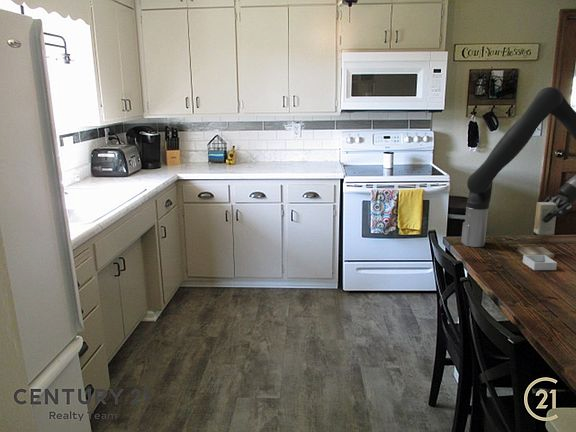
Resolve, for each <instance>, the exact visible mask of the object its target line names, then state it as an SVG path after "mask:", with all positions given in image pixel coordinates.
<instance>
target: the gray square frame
mask: <svg viewBox="0 0 576 432" xmlns="http://www.w3.org/2000/svg"><path fill="white" fill-rule="evenodd" d="M522 263H523V264H524V265H526V266H527V267H529V268H530V269H532V270H533V271H556V270H557V267H558V262H557V261H555V260H553V258H549V257H547V256H546V255H523V254H522Z"/></svg>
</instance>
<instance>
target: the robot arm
mask: <svg viewBox="0 0 576 432" xmlns="http://www.w3.org/2000/svg"><path fill="white" fill-rule="evenodd" d="M549 115H552V116H553V117H555V118H556V119H557V120H558V121H559V122H560V123H561V124H562V125H563V127H564V128H565V129H566V130H567V131H568V133H569V134H570V135H571V136H572V138H573V139H574V140H575V141H576V111H575V109H574V108H573V107H572V106H571V105H570V103H569V102H568V101H567V99H566V97H565V96H564V94H563V93H562V91H561V90H560V89H559V88H557V87H553V86H547V87H544V88H542V89H541V90H540V91H538V93H537V94H536V95H535V97H534V99H533V100H532V101H531V104H529V106H528V107H527V109H526V110H525V112H523V114H522V115H521V117H519V118H518V119H517V120H516V122H514V123H513V124H512V126H511V127H510V128H509V129H508V130H507V131H506V132H505V133H504V135H503V136H502V137H501V138H500V140H499V141H498V142H497V143H496V145H495V146H494V147H493V149H492V150H491V152H490V153H489V155H488V156H487V158H486V160H485V161H483V163H482V164H481V165H480V166H479V167H478V168H477V169H476V170H475V171H474V172H473V173H472V174H470V176H469V177H468V179H467V182H466V185H467V188H468V191H469V194H468V197H467V200H466V207H465V216H464V218H465V219H464V221H463V222H462V230H461V239H460V242H461V243H462V244H463V245H464V246H465V247H472V248H481V247H484V246H485V243H486V233H487V224H488V217H489V207H490V203H491V199H492V198H491V197H492V192H493V191H492V190H493V184H494V183H493V181H494V179H495V178H496V177H497V175H498V174H499V173H500V171H501V170H503V169H504V168H505V167H506V166H507V165H509V163H511V162H512V161H513V160H514V159H515V158H516V157H517V156H518V155H519V153H520V152H521V151H522V150H523V149H524V148H525V147H526V145H527V144H528V143H529V141H530V140H531V138H533V135H534V134H535V132H536V130H537V128H538V127H539V126H540V125H541V124H542V122H543V121H544V120H545V119H546V118H548V116H549ZM542 202H553V203H555V204H556V206H554V209H553V210H552V211H551V213H548V214H547V215H546V216H545V217H544V218H543V219H542V220H543V221H544V222H545V223H548V222H549V221H550V220H551V219H552V218H553V217H556V218H557V217H558V218H561V217H562V216H564V215H565V214H567V213H568V212H570V211H571V210H572V209H573V208H574V207H573V206H572V205H573V204H575V203H576V174H575V175H574V176H572V177H570V179H569V180H568V181H566V182H565V183H564V184H563V185H562V186H561V187H560V188H558V190H557V194H556V195H554V196H553V197H552V196H551V195H547V197H546V198H545V199H544V200H543V201H542ZM555 210H556V211H555ZM535 216H536V214H534V217H535Z"/></svg>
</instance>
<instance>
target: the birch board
mask: <svg viewBox="0 0 576 432" xmlns="http://www.w3.org/2000/svg"><path fill="white" fill-rule="evenodd" d="M517 252H518V253H520V254H522V256H523V255H546V256H547V257H549V258H550V259H554V258H555V253H553V252H552V251H550V250H548V249H547V248H545V247H543V246H533V247H531V246H529V247H528V246H527V247H526V246H525V247H521V246H519V247H517Z"/></svg>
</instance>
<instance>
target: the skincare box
mask: <svg viewBox="0 0 576 432" xmlns="http://www.w3.org/2000/svg"><path fill="white" fill-rule="evenodd" d="M554 206H556V204H555V203H553V202H543V201H539V202H538V201H537V202H536V207H535V215H536V216H535V215H534V226H533V232H534V233H535V234H536V235H538V236H539V235H541V236H542V235H544V236H545V235H547V236H549V235H555V230H556V220H557V216H556V217H553V218H552V219H551V220H550V221H549V222H548V223H545V222H544V221H543V220H542V219H543V218H544V217H545V216H546V215H547V214H548V213H551V211H552V210H553V209H554ZM555 211H556V210H555Z"/></svg>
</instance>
